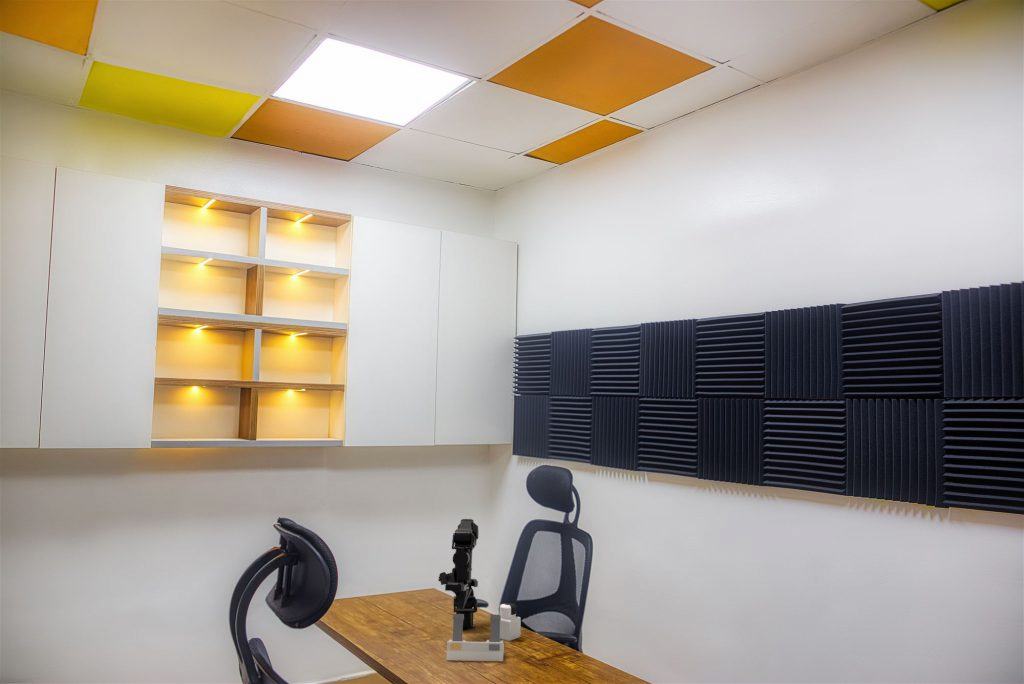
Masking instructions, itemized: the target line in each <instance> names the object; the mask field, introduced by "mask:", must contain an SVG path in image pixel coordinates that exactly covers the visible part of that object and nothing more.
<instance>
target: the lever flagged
mask: <svg viewBox="0 0 1024 684" xmlns="http://www.w3.org/2000/svg"><path fill="white" fill-rule="evenodd" d="M452 620H453V624H452V627H453V628H452V641H457V642H463V631H464V630H463V620H464V614H456V613H453V614H452Z"/></svg>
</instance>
